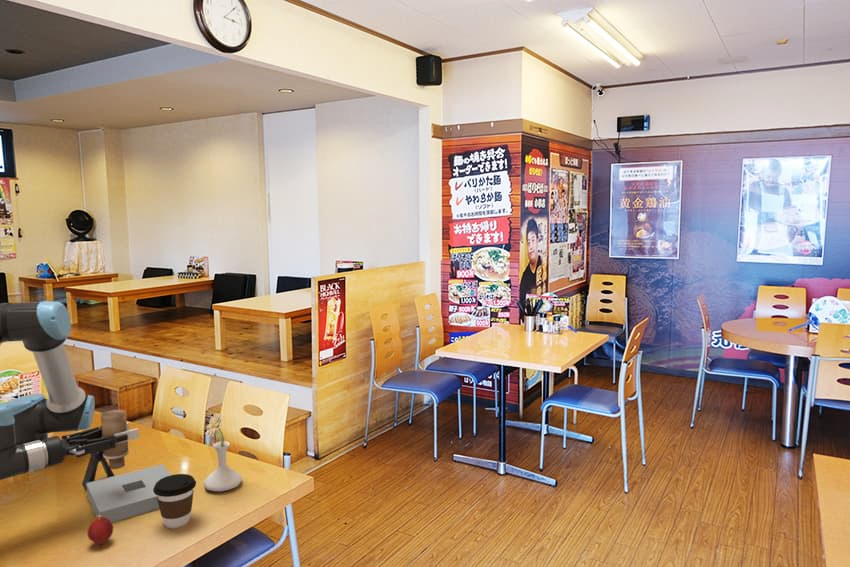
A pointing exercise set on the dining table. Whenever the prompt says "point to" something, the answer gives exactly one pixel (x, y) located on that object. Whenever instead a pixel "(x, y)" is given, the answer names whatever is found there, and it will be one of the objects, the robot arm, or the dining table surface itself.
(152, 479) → the slate board
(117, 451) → the walnut peg
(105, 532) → the onion
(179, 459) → the dining table surface
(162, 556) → the dining table surface
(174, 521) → the coffee cup
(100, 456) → the phone stand
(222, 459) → the flower in vase
